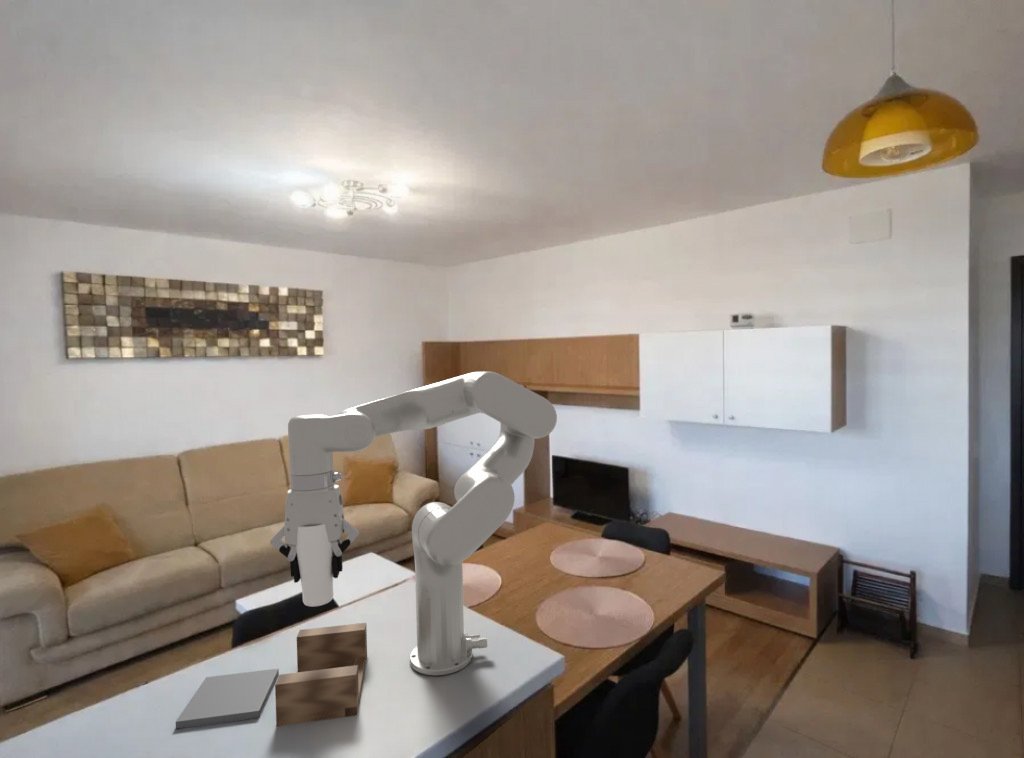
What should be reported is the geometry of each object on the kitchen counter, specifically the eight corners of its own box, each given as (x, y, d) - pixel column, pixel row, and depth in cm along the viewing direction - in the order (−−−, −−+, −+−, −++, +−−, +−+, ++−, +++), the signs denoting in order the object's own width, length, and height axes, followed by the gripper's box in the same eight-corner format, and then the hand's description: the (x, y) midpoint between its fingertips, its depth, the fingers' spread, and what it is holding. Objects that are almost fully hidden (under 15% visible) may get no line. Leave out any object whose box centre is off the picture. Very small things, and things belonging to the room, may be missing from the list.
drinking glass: (324, 610, 93) (320, 527, 93) (291, 608, 95) (286, 526, 94) (344, 594, 100) (340, 516, 100) (312, 592, 101) (308, 516, 101)
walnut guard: (367, 656, 108) (366, 622, 108) (357, 715, 90) (356, 674, 89) (300, 664, 106) (299, 629, 106) (276, 726, 87) (275, 684, 87)
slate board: (278, 674, 102) (278, 668, 102) (259, 717, 89) (259, 710, 89) (206, 683, 100) (206, 677, 100) (175, 728, 87) (175, 721, 87)
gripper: (362, 474, 102) (367, 565, 103) (268, 481, 99) (273, 575, 99) (358, 482, 95) (363, 580, 95) (256, 489, 92) (261, 591, 92)
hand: (317, 576), depth 97 cm, fingers closed on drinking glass, 6 cm apart
